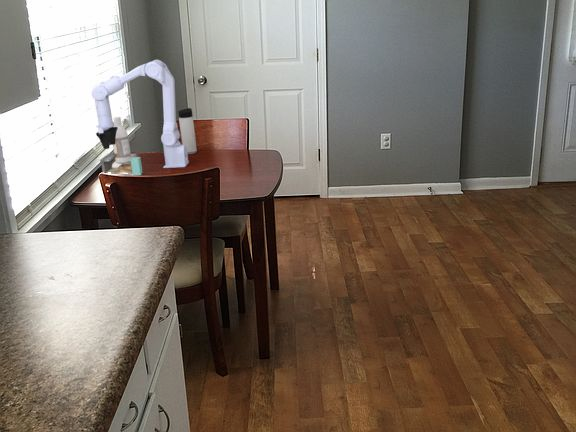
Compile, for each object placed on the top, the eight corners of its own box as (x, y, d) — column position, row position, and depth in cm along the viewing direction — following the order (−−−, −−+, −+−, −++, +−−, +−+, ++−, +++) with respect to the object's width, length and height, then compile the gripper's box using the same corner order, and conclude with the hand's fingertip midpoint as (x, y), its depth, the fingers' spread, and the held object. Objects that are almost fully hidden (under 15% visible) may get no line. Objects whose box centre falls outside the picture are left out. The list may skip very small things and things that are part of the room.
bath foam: (113, 161, 291) (106, 117, 284) (128, 159, 294) (122, 115, 288) (118, 164, 285) (111, 119, 279) (133, 161, 288) (127, 117, 282)
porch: (140, 168, 275) (137, 152, 273) (133, 174, 266) (130, 158, 264) (110, 170, 276) (107, 154, 274) (102, 176, 267) (99, 159, 265)
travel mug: (200, 151, 298) (195, 108, 292) (191, 154, 293) (185, 110, 287) (189, 150, 302) (184, 107, 295) (180, 153, 297) (175, 110, 290)
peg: (142, 173, 267) (140, 156, 265) (140, 175, 264) (138, 158, 262) (135, 173, 267) (132, 157, 265) (132, 175, 264) (130, 159, 262)
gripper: (101, 112, 277) (106, 143, 281) (88, 118, 263) (94, 151, 268) (117, 111, 276) (122, 142, 281) (105, 117, 263) (111, 150, 267)
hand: (109, 146), depth 274 cm, fingers open, 7 cm apart
